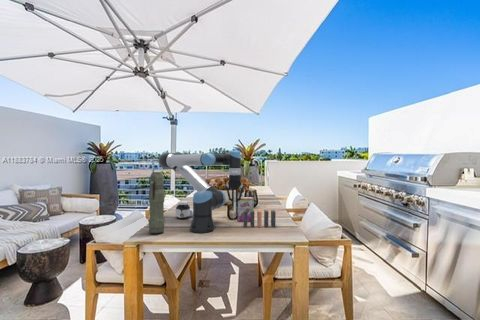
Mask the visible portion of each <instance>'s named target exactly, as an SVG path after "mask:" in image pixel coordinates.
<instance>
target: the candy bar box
mask: <svg viewBox="0 0 480 320" xmlns="http://www.w3.org/2000/svg"><path fill="white" fill-rule="evenodd" d="M238 198H239V196H238ZM254 201H255V200H254V197H247V196H246V197H245V196H241V200H239V201H238V206H236V213H237V215H236V217H237V218H236V221H237V222H243V223H244V210H247V223H250V216H251V210H254Z"/></svg>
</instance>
